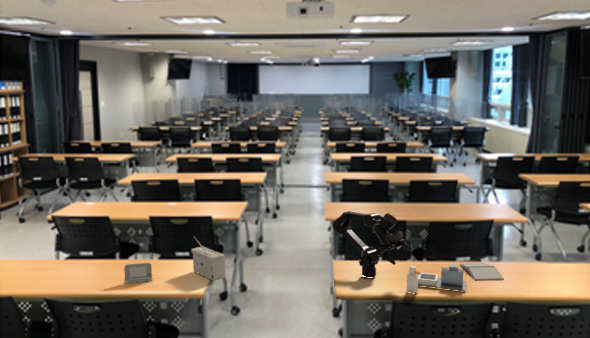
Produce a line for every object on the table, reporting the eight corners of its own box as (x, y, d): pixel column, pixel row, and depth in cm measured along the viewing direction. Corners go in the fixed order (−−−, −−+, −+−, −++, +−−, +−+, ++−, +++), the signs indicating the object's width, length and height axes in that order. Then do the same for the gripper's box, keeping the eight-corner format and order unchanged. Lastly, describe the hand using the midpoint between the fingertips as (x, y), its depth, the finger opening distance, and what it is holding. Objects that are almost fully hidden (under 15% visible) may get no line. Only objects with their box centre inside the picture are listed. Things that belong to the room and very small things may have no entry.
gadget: (504, 281, 257) (504, 274, 257) (474, 281, 257) (475, 274, 256) (486, 265, 280) (486, 259, 279) (459, 266, 280) (459, 259, 279)
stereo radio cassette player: (226, 278, 262) (225, 241, 259) (212, 282, 257) (211, 244, 254) (204, 268, 278) (203, 233, 274) (191, 272, 272) (189, 236, 269)
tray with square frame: (414, 286, 249) (414, 266, 248) (417, 277, 262) (417, 257, 260) (465, 292, 241) (466, 271, 240) (466, 282, 253) (467, 262, 252)
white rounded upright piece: (404, 292, 243) (404, 267, 241) (411, 289, 246) (411, 264, 244) (415, 296, 238) (416, 270, 236) (422, 293, 241) (423, 268, 239)
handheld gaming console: (152, 275, 268) (151, 257, 266) (152, 281, 259) (151, 263, 258) (126, 278, 265) (125, 259, 263) (125, 284, 256) (124, 265, 254)
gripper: (380, 230, 241) (398, 257, 235) (404, 223, 253) (422, 249, 247) (367, 242, 248) (384, 269, 242) (392, 235, 260) (409, 261, 254)
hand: (400, 262), depth 246 cm, fingers open, 9 cm apart
